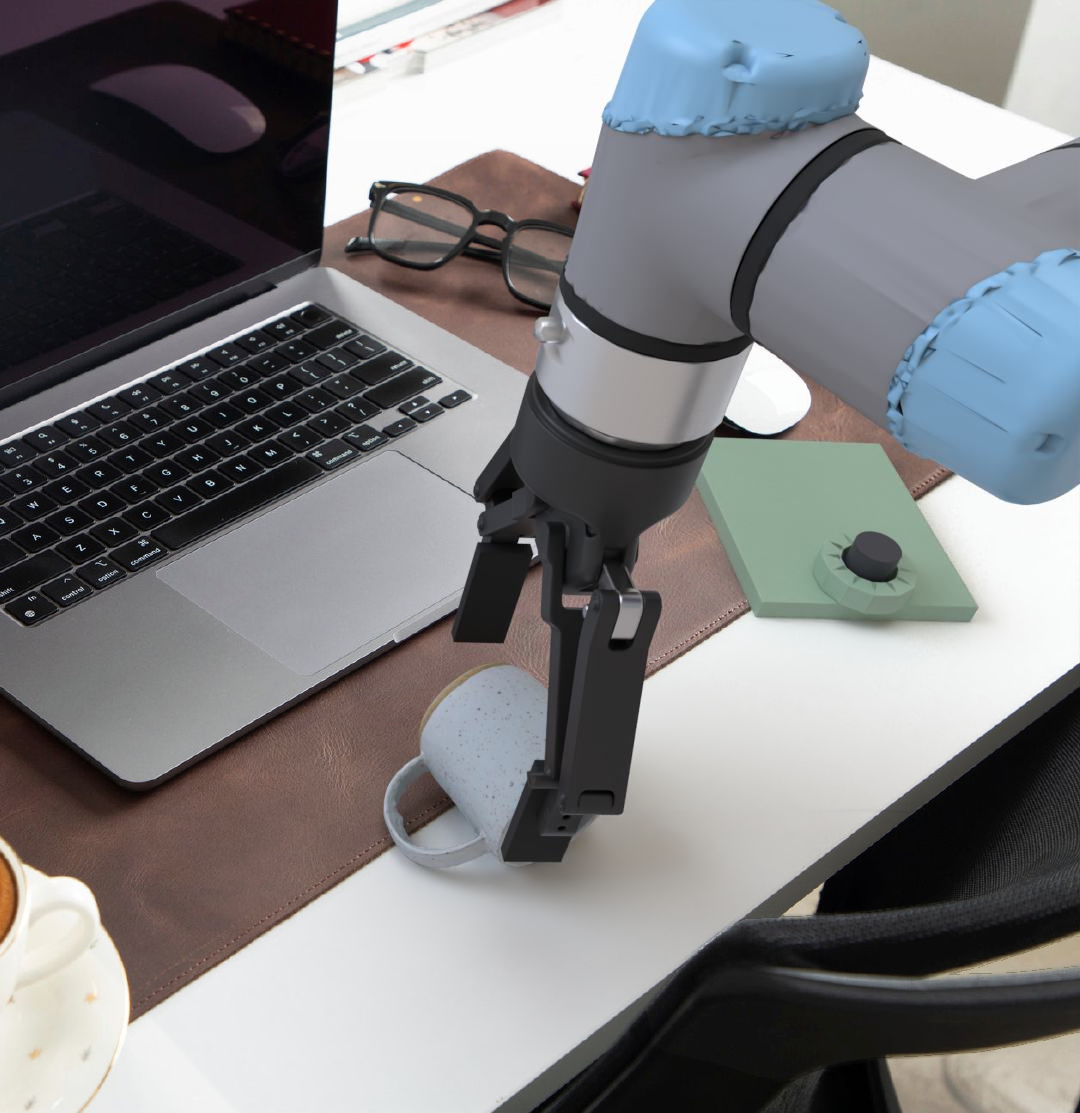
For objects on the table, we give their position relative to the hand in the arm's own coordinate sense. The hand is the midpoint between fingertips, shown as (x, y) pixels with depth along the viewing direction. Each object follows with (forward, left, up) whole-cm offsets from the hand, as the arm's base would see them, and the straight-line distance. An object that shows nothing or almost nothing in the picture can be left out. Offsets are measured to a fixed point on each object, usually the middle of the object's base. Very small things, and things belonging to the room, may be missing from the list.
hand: (501, 739), depth 72 cm
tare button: (+17, -27, -3) cm, 32 cm away
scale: (+23, -27, -6) cm, 36 cm away
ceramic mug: (0, 0, -6) cm, 6 cm away
